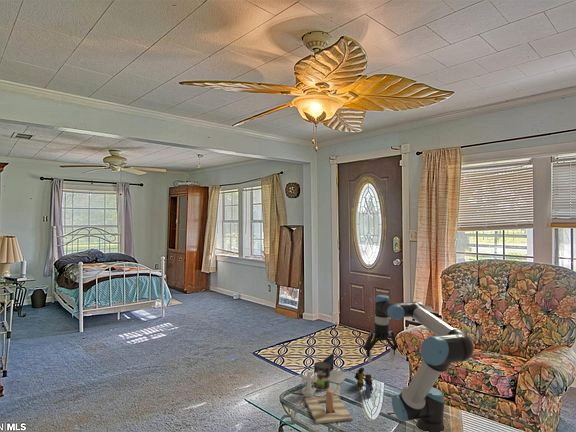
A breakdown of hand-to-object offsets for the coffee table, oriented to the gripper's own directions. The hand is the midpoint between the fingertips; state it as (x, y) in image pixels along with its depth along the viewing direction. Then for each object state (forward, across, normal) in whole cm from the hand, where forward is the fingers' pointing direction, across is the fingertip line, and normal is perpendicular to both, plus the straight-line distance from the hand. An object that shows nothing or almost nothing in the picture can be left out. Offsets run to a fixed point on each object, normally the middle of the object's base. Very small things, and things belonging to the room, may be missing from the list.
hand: (380, 361), depth 211 cm
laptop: (+28, +8, -46) cm, 54 cm away
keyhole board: (+28, +28, -7) cm, 40 cm away
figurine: (+28, +33, -25) cm, 50 cm away
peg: (+28, +28, -4) cm, 40 cm away
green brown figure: (+28, +22, -34) cm, 50 cm away
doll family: (+28, -3, -24) cm, 38 cm away
